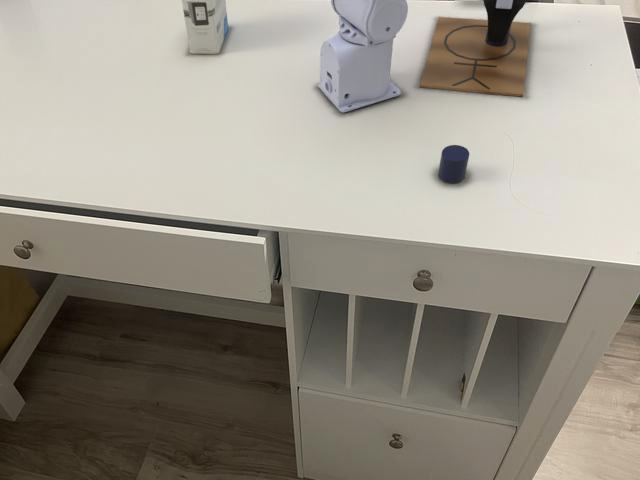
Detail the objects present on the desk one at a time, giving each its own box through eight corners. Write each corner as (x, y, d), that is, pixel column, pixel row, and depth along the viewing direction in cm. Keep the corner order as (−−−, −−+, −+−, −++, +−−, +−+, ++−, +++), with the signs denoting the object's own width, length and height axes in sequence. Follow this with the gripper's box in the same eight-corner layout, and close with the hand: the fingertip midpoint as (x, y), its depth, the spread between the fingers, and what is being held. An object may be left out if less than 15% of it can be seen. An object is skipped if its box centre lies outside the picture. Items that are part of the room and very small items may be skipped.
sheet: (522, 96, 92) (523, 93, 91) (419, 87, 95) (419, 84, 95) (530, 25, 103) (531, 22, 103) (438, 19, 107) (438, 16, 107)
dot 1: (447, 186, 81) (451, 164, 79) (433, 171, 83) (436, 149, 81) (470, 178, 82) (474, 156, 79) (455, 164, 84) (459, 141, 81)
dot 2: (493, 48, 99) (498, 27, 97) (480, 39, 101) (485, 17, 99) (511, 43, 100) (516, 21, 97) (498, 33, 102) (503, 12, 99)
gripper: (546, -39, 84) (522, 60, 94) (551, -84, 93) (527, 11, 103) (488, -41, 86) (470, 56, 96) (497, -85, 95) (480, 8, 105)
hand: (496, 33), depth 100 cm, fingers open, 4 cm apart
